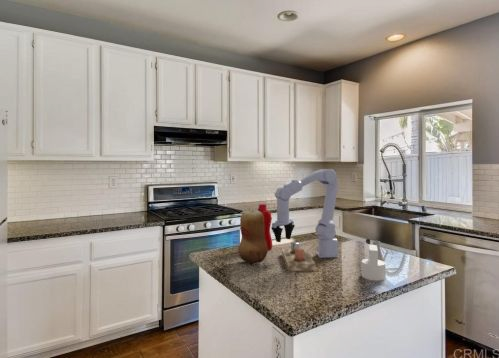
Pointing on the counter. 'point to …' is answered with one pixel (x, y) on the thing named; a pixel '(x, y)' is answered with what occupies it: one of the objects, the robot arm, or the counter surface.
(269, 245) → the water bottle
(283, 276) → the counter surface
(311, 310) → the counter surface
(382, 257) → the flask
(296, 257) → the pink rounded block
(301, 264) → the socket block
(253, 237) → the butternut squash
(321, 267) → the counter surface
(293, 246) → the steel plunger
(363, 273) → the base with upright slab
